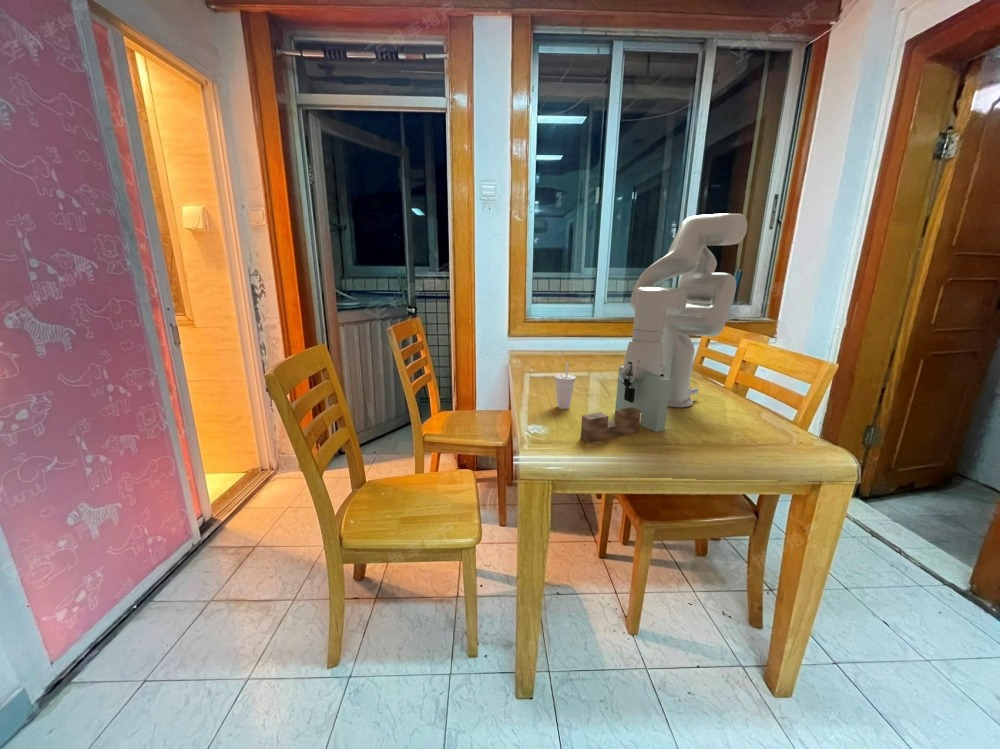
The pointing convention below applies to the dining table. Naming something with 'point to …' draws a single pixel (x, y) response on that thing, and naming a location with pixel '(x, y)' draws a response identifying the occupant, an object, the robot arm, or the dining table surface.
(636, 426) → the brown long block
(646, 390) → the cross plate
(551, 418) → the dining table surface
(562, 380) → the smoothie
